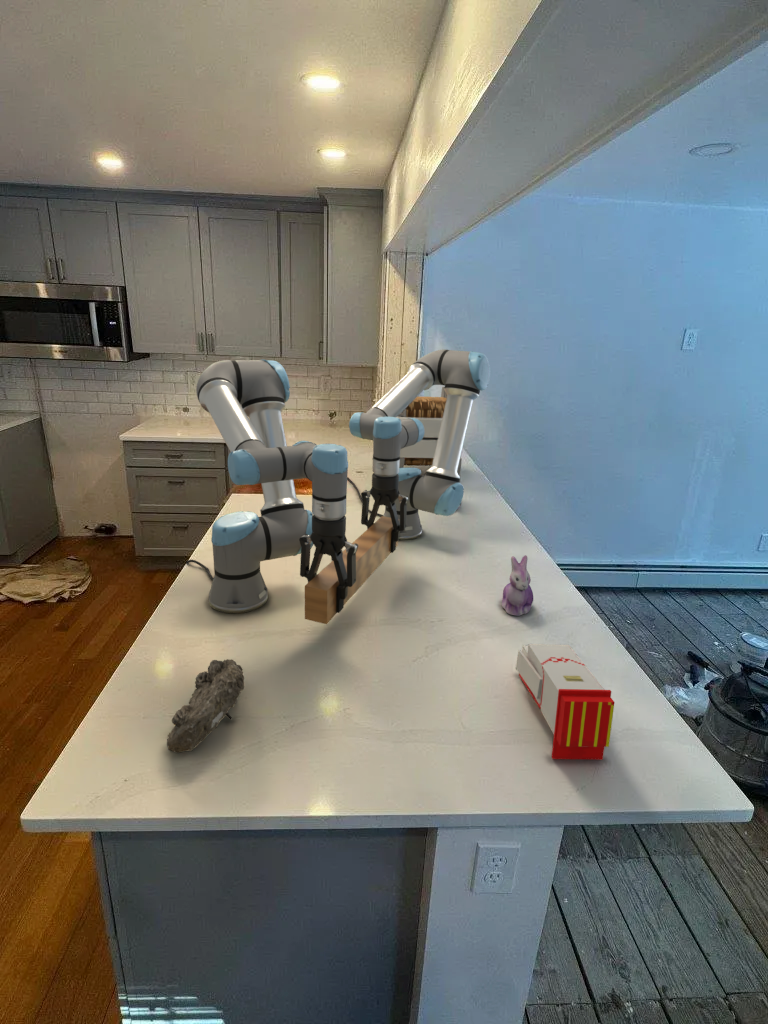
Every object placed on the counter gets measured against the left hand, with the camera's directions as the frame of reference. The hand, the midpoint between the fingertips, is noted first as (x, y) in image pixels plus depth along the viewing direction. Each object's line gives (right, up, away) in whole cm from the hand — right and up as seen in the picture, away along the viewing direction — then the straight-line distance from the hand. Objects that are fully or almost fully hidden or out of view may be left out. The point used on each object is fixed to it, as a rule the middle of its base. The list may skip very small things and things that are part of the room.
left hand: (327, 607), depth 133 cm
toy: (+47, -18, -19) cm, 54 cm away
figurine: (+49, -4, +20) cm, 53 cm away
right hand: (+13, +11, +33) cm, 38 cm away
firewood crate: (+31, +41, +142) cm, 151 cm away
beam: (+6, +5, +17) cm, 19 cm away
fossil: (-19, -17, -25) cm, 36 cm away
